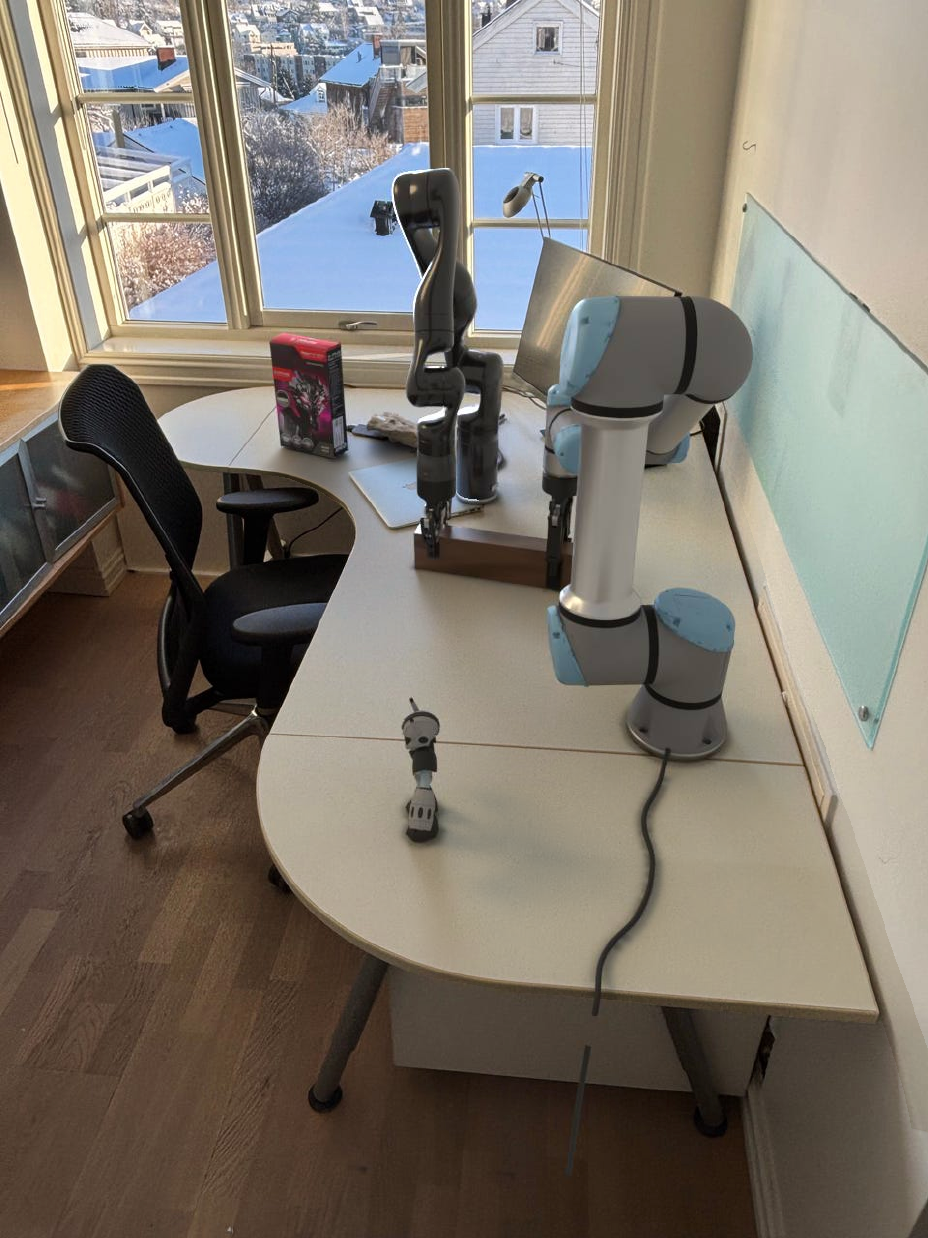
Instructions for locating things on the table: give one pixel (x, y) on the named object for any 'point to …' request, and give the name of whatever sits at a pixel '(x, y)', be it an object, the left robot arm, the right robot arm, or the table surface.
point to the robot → (422, 772)
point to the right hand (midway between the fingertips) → (555, 580)
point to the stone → (394, 428)
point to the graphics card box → (309, 394)
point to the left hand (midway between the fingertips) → (437, 550)
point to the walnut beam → (491, 556)
